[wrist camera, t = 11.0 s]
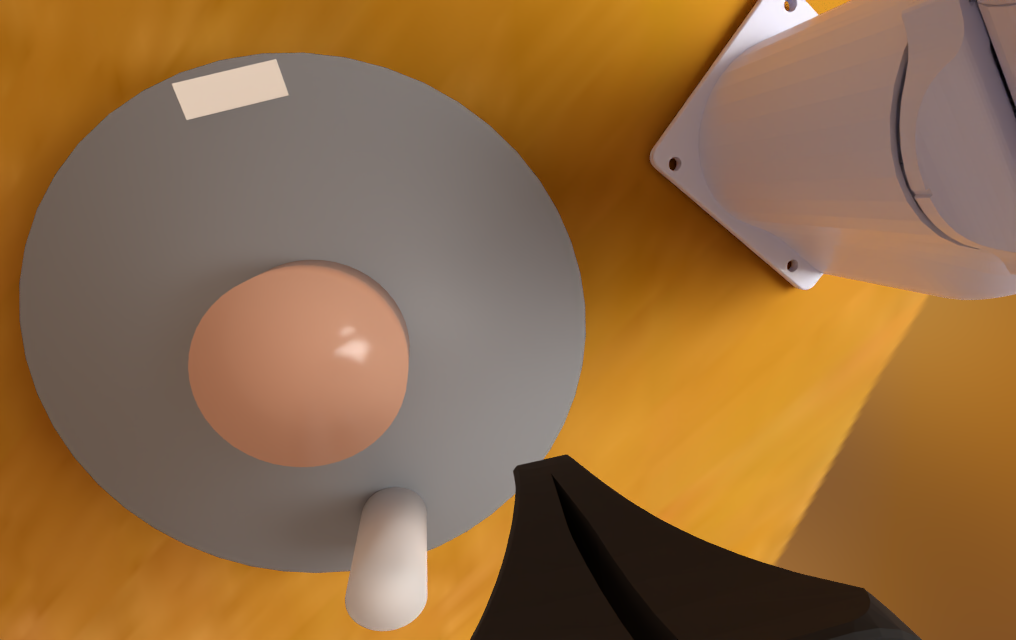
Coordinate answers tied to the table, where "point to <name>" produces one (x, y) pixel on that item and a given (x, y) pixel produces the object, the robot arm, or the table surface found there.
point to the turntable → (287, 238)
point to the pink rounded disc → (301, 363)
